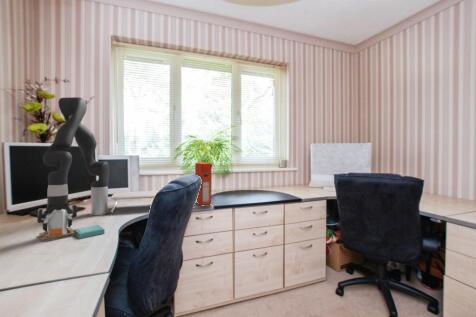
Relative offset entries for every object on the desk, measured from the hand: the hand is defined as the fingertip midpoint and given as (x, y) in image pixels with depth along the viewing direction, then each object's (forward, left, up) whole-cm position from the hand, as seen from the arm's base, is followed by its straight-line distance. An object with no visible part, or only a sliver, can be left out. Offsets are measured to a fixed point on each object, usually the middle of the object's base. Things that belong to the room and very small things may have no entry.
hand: (57, 228), depth 108 cm
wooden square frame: (0, 0, -3) cm, 3 cm away
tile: (+7, +11, -3) cm, 13 cm away
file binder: (-10, +93, -3) cm, 94 cm away
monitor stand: (-30, +53, -4) cm, 61 cm away
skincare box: (0, 0, -3) cm, 3 cm away
